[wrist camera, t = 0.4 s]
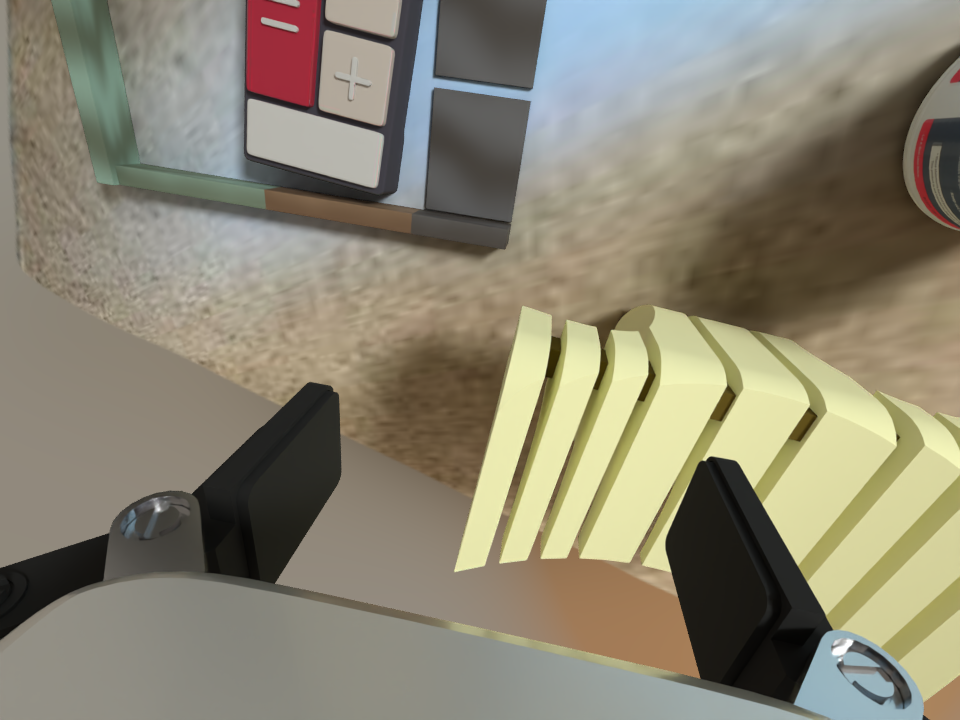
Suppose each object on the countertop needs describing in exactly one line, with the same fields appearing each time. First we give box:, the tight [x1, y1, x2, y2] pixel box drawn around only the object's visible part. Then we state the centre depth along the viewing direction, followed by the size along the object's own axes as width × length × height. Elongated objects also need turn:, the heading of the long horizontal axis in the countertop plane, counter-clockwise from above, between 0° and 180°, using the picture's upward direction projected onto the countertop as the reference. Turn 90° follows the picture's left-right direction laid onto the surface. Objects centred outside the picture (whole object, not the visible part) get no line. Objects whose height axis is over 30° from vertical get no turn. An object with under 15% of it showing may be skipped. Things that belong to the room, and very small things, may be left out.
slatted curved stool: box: [454, 305, 960, 701], centre depth 32 cm, size 30×16×18 cm, turn 78°
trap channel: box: [51, 0, 547, 249], centre depth 31 cm, size 21×34×3 cm, turn 82°
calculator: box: [244, 0, 423, 195], centre depth 31 cm, size 11×4×15 cm
